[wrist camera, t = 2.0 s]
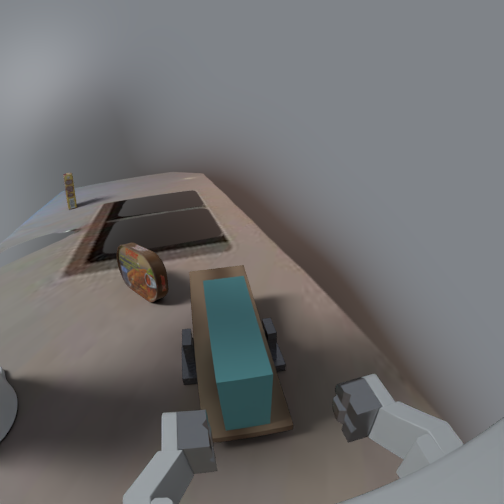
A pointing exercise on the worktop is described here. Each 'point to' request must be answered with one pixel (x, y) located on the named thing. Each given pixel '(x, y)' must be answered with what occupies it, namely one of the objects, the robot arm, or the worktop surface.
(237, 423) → the block
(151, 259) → the tin
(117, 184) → the worktop surface
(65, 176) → the candy box
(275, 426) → the beam
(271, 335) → the beam stand
